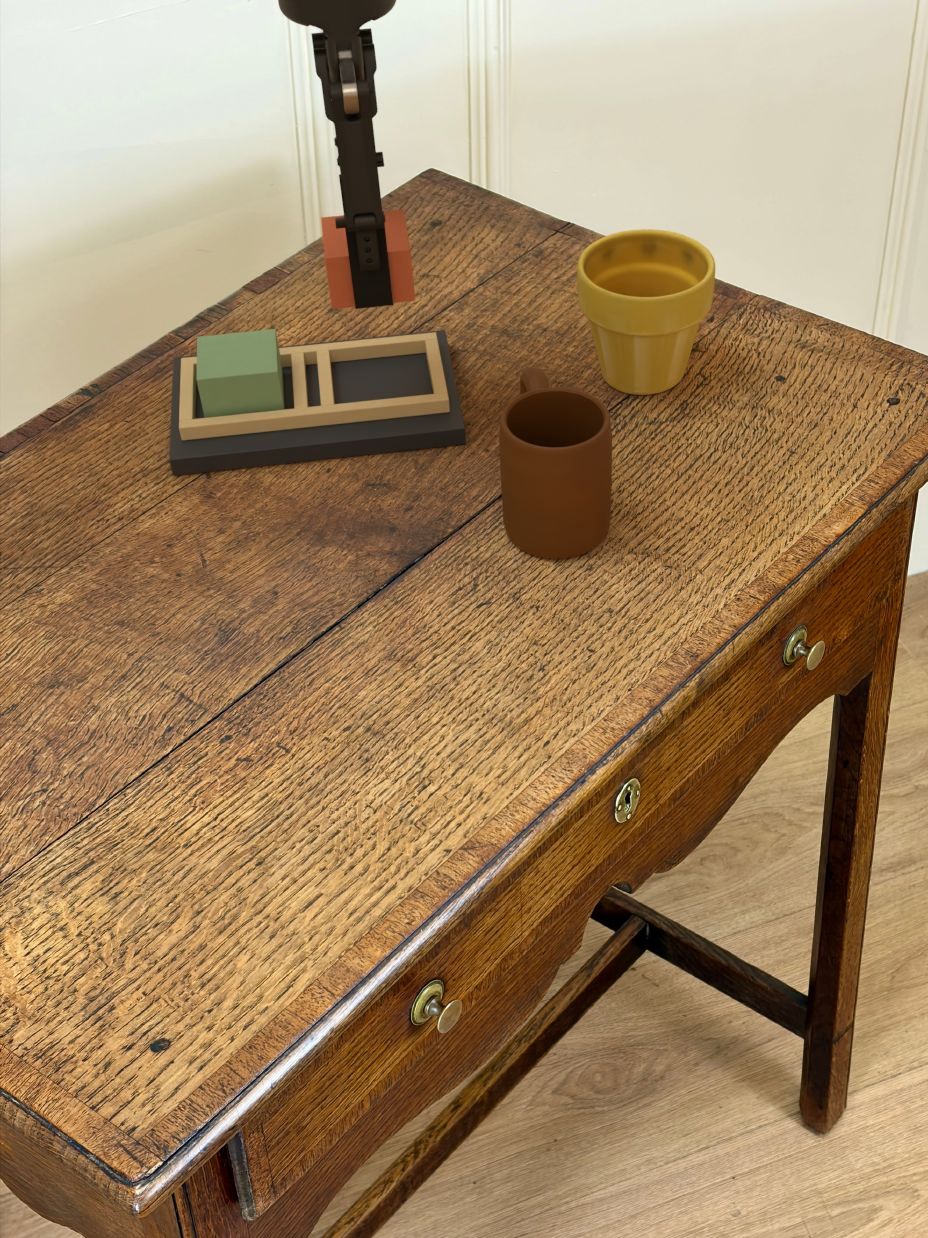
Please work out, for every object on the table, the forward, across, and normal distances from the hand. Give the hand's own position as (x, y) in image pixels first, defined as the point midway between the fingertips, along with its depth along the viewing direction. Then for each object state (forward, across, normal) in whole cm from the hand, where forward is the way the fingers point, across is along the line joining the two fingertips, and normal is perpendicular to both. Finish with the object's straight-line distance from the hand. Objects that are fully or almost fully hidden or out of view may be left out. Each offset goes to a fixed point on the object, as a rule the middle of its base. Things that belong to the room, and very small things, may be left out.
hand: (370, 280), depth 108 cm
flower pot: (+11, +1, -21) cm, 23 cm away
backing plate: (+11, +1, +5) cm, 12 cm away
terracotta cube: (0, 0, 0) cm, 0 cm away
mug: (+11, -15, -11) cm, 22 cm away
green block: (+9, +1, +11) cm, 14 cm away
